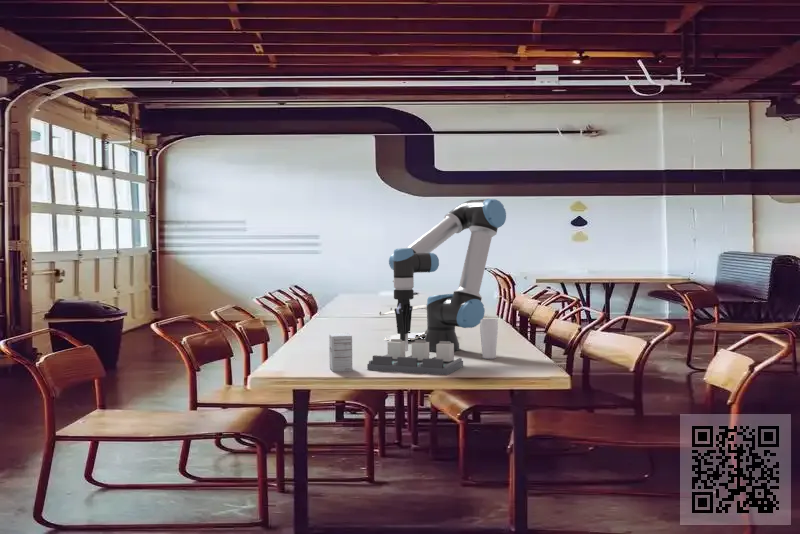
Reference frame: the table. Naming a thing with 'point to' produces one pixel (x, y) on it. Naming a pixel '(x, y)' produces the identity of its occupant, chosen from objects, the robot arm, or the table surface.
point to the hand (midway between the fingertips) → (404, 350)
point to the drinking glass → (489, 337)
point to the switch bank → (414, 365)
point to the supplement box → (340, 352)
